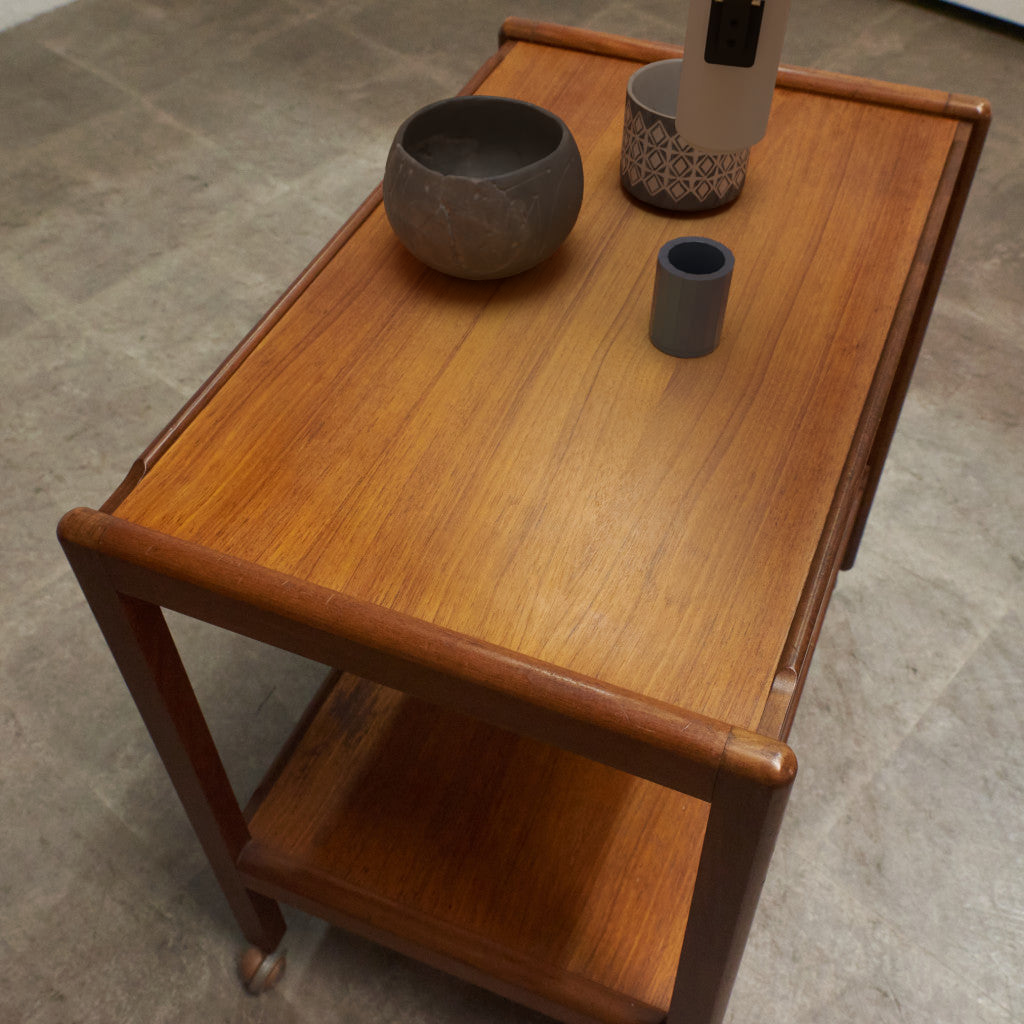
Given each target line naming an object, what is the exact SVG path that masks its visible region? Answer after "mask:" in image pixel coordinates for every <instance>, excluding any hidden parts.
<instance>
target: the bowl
mask: <svg viewBox="0 0 1024 1024" xmlns="http://www.w3.org/2000/svg"><path fill="white" fill-rule="evenodd" d="M584 190H585V175H584V166H583V160H582V156H581V153H580V150H579V147H578V144H577V142H576V140H575V137H574V135H573V133H572V131H571V129H570V128H569V127H568V125H567V124H566V123H565V121H564V120H563V119H562V118H561V117H560V116H558V115H557V114H555V113H553V112H551V111H550V110H548V109H546V108H544V107H542V106H539V105H537V104H534V103H532V102H528V101H525V100H522V99H517V98H510V97H505V96H498V95H487V94H469V95H460V96H453V97H448V98H444V99H440V100H437V101H434V102H431V103H428V104H427V105H425V106H423V107H421V108H419V109H417V110H416V111H415V112H413V113H412V114H411V115H409V117H407V118H406V119H405V120H404V121H403V122H402V123H401V124H400V126H399V127H398V129H397V130H396V132H395V135H394V136H393V140H392V142H391V144H390V148H389V150H388V154H387V158H386V161H385V167H384V173H383V181H382V200H383V207H384V211H385V214H386V218H387V220H388V224H389V225H390V227H391V230H392V232H393V233H394V235H395V236H396V237H397V239H398V240H399V242H400V243H401V244H402V245H403V246H404V248H405V249H406V250H407V251H408V252H409V253H410V254H411V255H413V257H415V258H416V259H417V260H419V261H420V262H421V263H423V264H424V265H426V266H428V267H429V268H430V269H433V270H435V271H436V272H439V273H442V274H445V275H447V276H451V277H455V278H460V279H465V280H471V281H489V280H498V279H504V278H508V277H511V276H515V275H518V274H520V273H523V272H527V271H528V270H530V269H533V268H534V267H537V266H539V265H540V264H542V263H543V262H544V261H546V260H547V259H548V258H550V257H551V256H552V255H553V254H554V253H555V252H556V251H557V250H559V248H560V247H561V246H562V245H563V244H564V243H565V242H566V240H567V239H568V237H570V234H571V233H572V232H573V229H574V227H575V225H576V223H577V221H578V218H579V215H580V212H581V210H582V209H581V208H582V205H583V199H584V192H585V191H584Z"/></svg>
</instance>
